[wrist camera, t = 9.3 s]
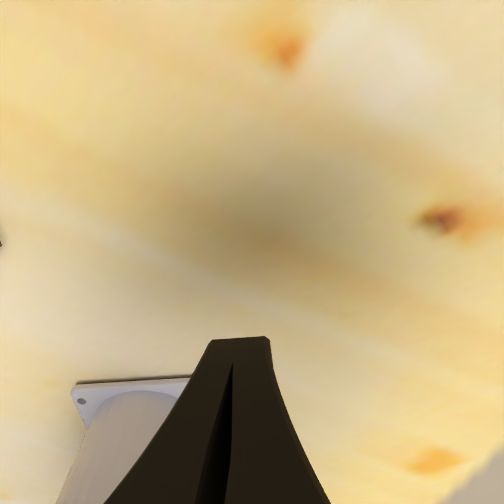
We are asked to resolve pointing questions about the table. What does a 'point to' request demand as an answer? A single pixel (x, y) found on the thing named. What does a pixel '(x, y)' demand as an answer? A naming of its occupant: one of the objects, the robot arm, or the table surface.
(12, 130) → the table surface
